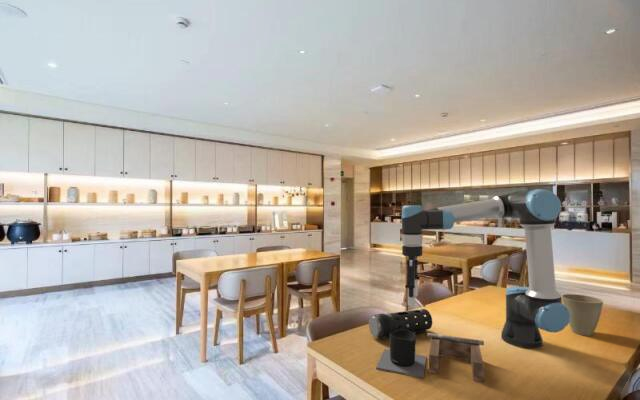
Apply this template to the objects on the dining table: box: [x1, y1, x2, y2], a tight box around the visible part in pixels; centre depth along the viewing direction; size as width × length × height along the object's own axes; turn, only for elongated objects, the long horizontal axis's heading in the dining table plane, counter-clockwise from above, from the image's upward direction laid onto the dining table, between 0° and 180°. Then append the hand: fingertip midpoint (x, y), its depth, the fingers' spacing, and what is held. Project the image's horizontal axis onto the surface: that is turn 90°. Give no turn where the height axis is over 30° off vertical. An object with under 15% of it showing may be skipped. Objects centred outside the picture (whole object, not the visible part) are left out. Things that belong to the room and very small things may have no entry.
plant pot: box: [561, 293, 604, 337], centre depth 152 cm, size 15×15×16 cm
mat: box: [375, 348, 427, 379], centre depth 121 cm, size 16×16×1 cm
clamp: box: [426, 332, 485, 383], centre depth 120 cm, size 20×17×8 cm
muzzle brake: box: [368, 308, 433, 339], centre depth 147 cm, size 10×28×10 cm, turn 111°
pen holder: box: [389, 329, 417, 367], centre depth 121 cm, size 9×9×10 cm
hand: (412, 300), depth 127 cm, fingers open, 13 cm apart
